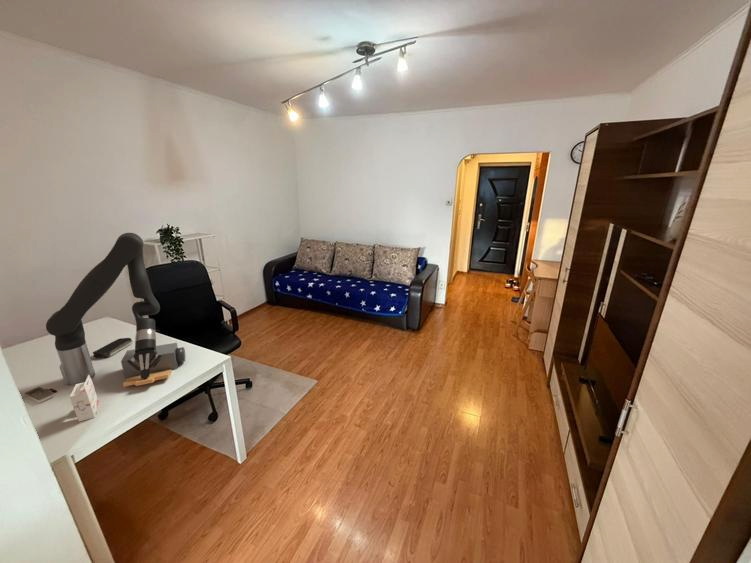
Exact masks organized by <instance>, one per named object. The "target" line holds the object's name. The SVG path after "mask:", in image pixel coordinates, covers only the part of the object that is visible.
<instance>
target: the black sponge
mask: <svg viewBox="0 0 751 563" xmlns="http://www.w3.org/2000/svg"><path fill="white" fill-rule="evenodd" d="M132 343H133V339H132V338H131V337H126V338H125V337H123V338H118V339H116V340H114V341H112V342H109V343H107V344H105V345H104V346H103V347H100V348H98V349H97V350H95V351H93V352H92V354H93V357H95V358H107V357H108V358H109V357H112V356H113V355H115V354H117V353H119V352H120V351H121V350H123V349H125V348H127V347H129V346H131V345H132Z"/></svg>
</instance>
